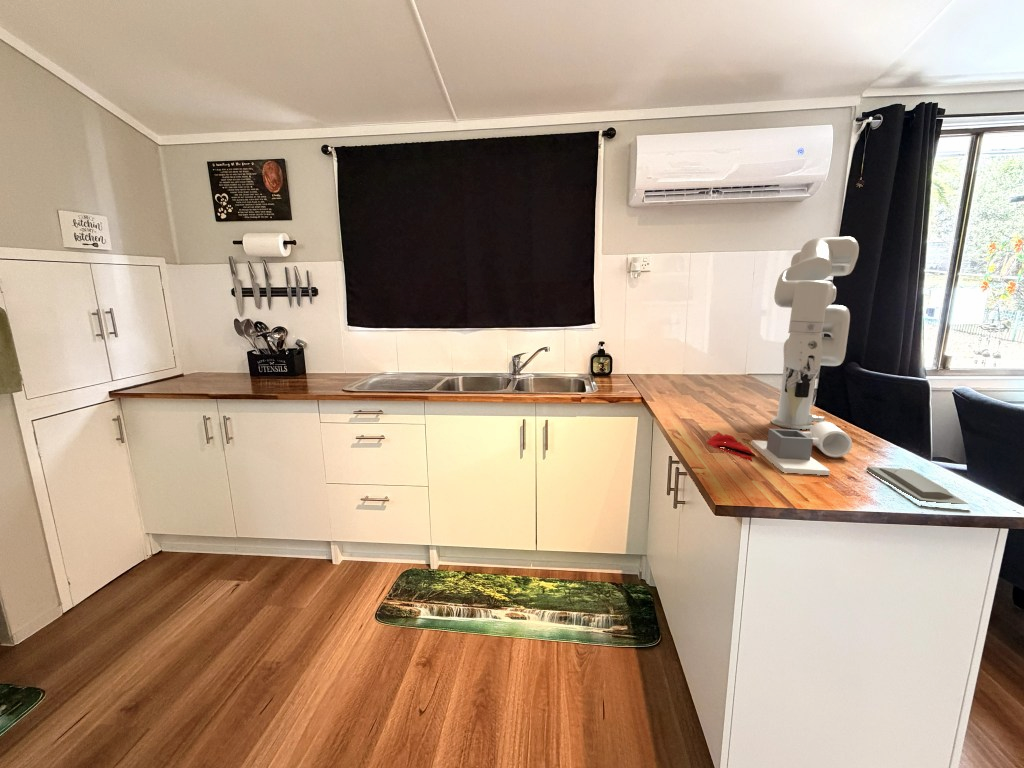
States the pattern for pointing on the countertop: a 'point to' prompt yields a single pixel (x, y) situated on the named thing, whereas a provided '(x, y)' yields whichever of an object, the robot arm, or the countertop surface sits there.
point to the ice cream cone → (793, 393)
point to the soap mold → (915, 485)
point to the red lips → (730, 445)
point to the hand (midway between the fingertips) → (796, 394)
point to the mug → (830, 439)
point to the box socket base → (790, 452)
